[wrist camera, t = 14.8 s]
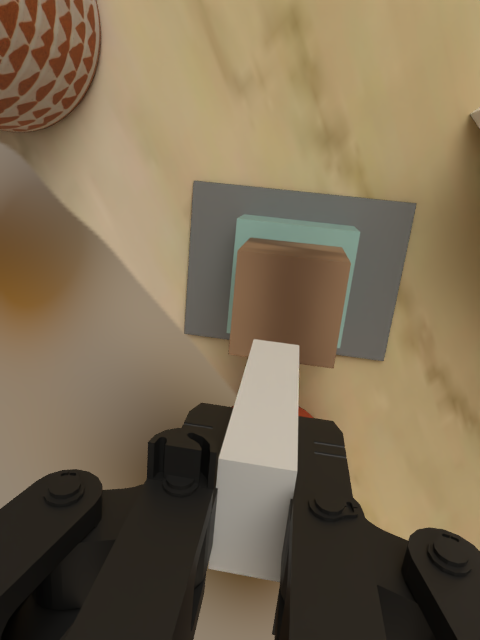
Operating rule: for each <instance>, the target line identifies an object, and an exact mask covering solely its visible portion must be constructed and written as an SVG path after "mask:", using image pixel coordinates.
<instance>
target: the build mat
mask: <svg viewBox="0 0 480 640" xmlns="http://www.w3.org/2000/svg"><path fill="white" fill-rule="evenodd" d="M415 209H416V203H407V202H397V201H388V200H378V199H368V198H358V197H349V196H339V195H329V194H319V193H310V192H300V191H290V190H280V189H271V188H261V187H251V186H241V185H232V184H222V183H212V182H202V181H194V184H193V200H192V217H191V233H190V250H189V266H188V283H187V299H186V315H185V332H184V334H191V335H198V336H205V337H213V338H220V339H227V340H230V333H227V322H228V311H229V300H230V289H231V278H232V267H233V256H234V245H235V234H236V223H237V218H239V217H240V216H242V215H244V214H247V215H256V216H265V217H274V218H284V219H293V220H302V221H311V222H320V223H329V224H339V225H348V226H354V227H355V228H357V229H358V230H359V231H360V237H359V243H358V249H357V254H356V260H355V266H354V272H353V277H352V283H351V289H350V294H349V300H348V306H347V311H346V317H345V323H344V328H343V334H342V340H341V345H340V348H337V351H336V355H343V356H350V357H357V358H365V359H372V360H379V361H384V357H385V352H386V347H387V342H388V337H389V333H390V328H391V323H392V318H393V314H394V309H395V304H396V299H397V295H398V290H399V285H400V280H401V276H402V271H403V266H404V261H405V256H406V252H407V247H408V242H409V237H410V233H411V228H412V223H413V218H414V214H415Z"/></svg>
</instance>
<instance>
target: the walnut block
mask: <svg viewBox="0 0 480 640" xmlns="http://www.w3.org/2000/svg"><path fill="white" fill-rule="evenodd" d="M350 266H351V262H350V260H349V259H348V257H347V255H346V253H345V252H344V250H343V248H342V247H335V246H326V245H317V244H307V243H298V242H289V241H279V240H270V239H261V238H251V237H250V238H249V239H248V240H247V241H246V242H245V243H244V244H243V245H242V246H241V247H240V248H239V249H238V251H237V262H236V274H235V285H234V297H233V308H232V319H231V331H230V342H229V354H230V355H238V356H245V357H249V354H250V350H251V347H252V343H253V340H254V339H257V340H264V341H272V342H279V343H286V344H294V345H299V364H304V365H312V366H319V367H327V368H334V363H335V357H336V351H337V345H338V339H339V333H340V326H341V320H342V314H343V308H344V302H345V296H346V290H347V284H348V278H349V272H350Z"/></svg>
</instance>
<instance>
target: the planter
mask: <svg viewBox="0 0 480 640" xmlns="http://www.w3.org/2000/svg"><path fill="white" fill-rule="evenodd" d="M100 39H101V31H100V18H99V11H98V6H97V2H96V0H0V130H3V131H10V132H31V131H36V130H40V129H43V128H46V127H49V126H51V125H53V124H55V123H57V122H58V121H60V120H62V119H63V118H64V117H66V116H67V115H68V114H69V113H70V112H71V111H72V110H73V109H74V108H75V107H76V106H77V105H78V104H79V102H80V101H81V100H82V98H83V97H84V95H85V93H86V92H87V90H88V88H89V86H90V84H91V82H92V79H93V77H94V74H95V71H96V67H97V63H98V58H99V52H100Z"/></svg>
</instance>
